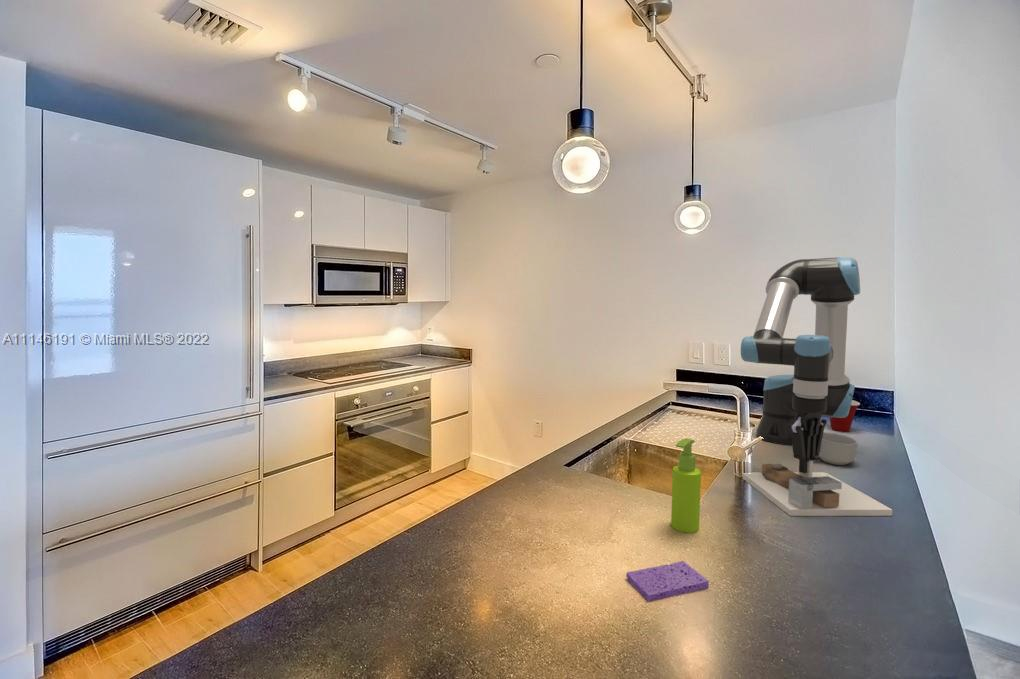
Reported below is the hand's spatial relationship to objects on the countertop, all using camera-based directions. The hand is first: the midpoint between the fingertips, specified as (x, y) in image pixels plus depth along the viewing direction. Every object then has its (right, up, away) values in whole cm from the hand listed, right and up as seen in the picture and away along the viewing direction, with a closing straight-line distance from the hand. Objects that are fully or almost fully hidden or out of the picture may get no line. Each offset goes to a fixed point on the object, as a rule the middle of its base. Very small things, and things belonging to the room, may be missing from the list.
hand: (804, 483), depth 122 cm
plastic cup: (+51, +2, +59) cm, 78 cm away
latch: (-3, -1, -1) cm, 3 cm away
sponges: (-49, -7, -38) cm, 62 cm away
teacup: (+23, -1, +24) cm, 33 cm away
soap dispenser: (-38, -5, -17) cm, 42 cm away
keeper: (-4, -4, -9) cm, 11 cm away
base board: (+1, -3, 0) cm, 3 cm away
